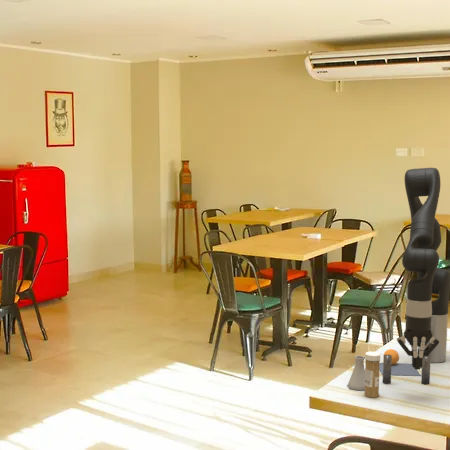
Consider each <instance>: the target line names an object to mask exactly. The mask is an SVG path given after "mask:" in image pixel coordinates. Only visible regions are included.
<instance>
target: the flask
mask: <svg viewBox="0 0 450 450" xmlns="http://www.w3.org/2000/svg"><path fill="white" fill-rule="evenodd" d="M354 359H355V361H354V362H355V363H354V367H353V370H352V373H351V375H350V377H349V380H348V383H347V384H346V385H347V387H348V389H350V390H354V391H365V363H364V361H365V355H355V356H354Z"/></svg>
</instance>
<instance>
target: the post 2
mask: <svg viewBox="0 0 450 450" xmlns="http://www.w3.org/2000/svg"><path fill="white" fill-rule="evenodd" d="M431 363H432V362H431V357H430V356H424V357H423V359H422V368H421V384H422V385H425V386H428V385H430V382H431Z"/></svg>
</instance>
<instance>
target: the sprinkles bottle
mask: <svg viewBox="0 0 450 450" xmlns="http://www.w3.org/2000/svg"><path fill="white" fill-rule="evenodd" d="M364 357H365V359H364V361H365V365H364V369H365V390H364V396H365V397H367V398H377V397H379V396H380V393H379V392H380V371H379V363H380V361H381V353H380V352H378V351H366V352H365V354H364Z"/></svg>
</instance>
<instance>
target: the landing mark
mask: <svg viewBox="0 0 450 450" xmlns="http://www.w3.org/2000/svg"><path fill="white" fill-rule="evenodd" d="M379 373H380V374H381V376H383V362H379ZM391 376H397V377H398V376H400V377H404V376H408V377H422V374H421V373H420V372H419V369H414V368H413V366H412V363H407V362H405V363H404V362H403V363H401V362H397V363H396V364H394V365H391Z"/></svg>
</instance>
